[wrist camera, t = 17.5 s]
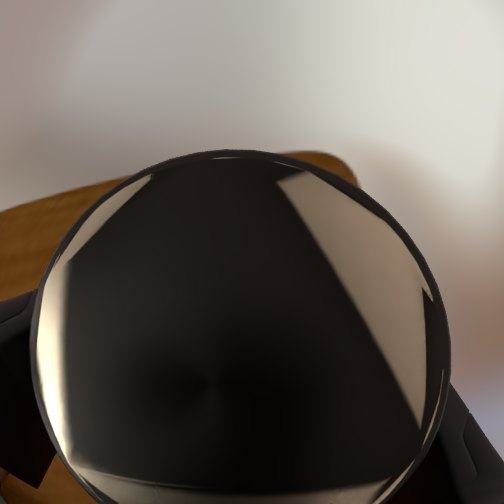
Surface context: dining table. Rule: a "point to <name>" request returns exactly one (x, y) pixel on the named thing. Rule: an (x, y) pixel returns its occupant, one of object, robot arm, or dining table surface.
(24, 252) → the dining table surface
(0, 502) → the cabinet
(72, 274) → the canister
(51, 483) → the dining table surface
